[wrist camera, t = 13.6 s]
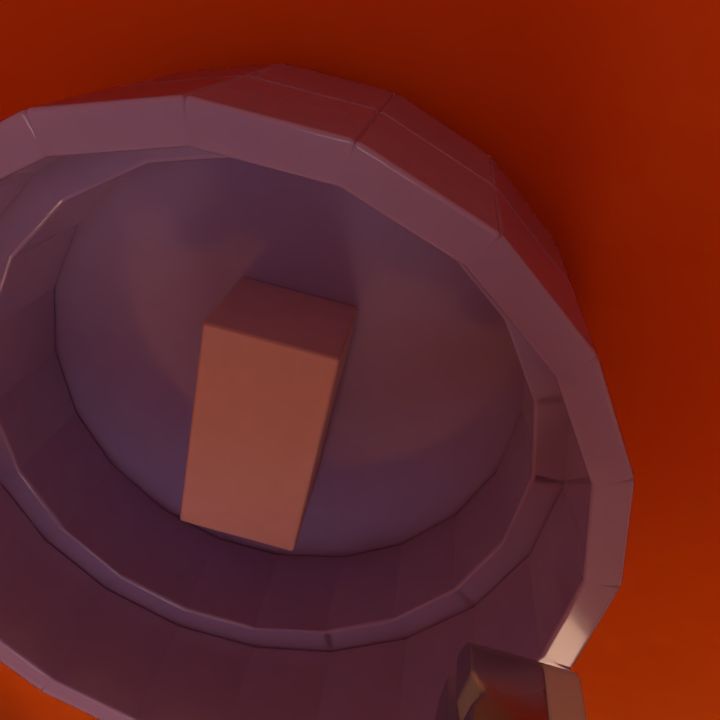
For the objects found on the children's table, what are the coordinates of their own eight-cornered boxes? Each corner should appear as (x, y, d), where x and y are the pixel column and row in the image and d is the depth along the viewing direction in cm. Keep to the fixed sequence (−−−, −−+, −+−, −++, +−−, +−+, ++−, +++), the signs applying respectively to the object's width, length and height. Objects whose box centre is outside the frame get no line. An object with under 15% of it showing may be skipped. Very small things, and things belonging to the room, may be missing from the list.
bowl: (11, -14, 13) (-267, -24, 8) (684, 162, 12) (820, 261, 8) (28, 499, 19) (-119, 665, 14) (472, 621, 19) (474, 831, 14)
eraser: (241, 275, 14) (202, 322, 12) (358, 306, 14) (340, 359, 12) (214, 455, 17) (178, 521, 14) (315, 483, 17) (293, 553, 14)
